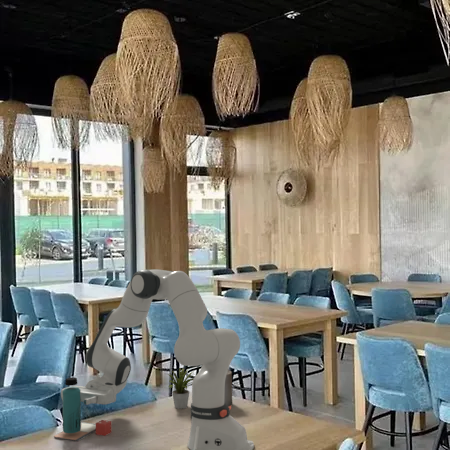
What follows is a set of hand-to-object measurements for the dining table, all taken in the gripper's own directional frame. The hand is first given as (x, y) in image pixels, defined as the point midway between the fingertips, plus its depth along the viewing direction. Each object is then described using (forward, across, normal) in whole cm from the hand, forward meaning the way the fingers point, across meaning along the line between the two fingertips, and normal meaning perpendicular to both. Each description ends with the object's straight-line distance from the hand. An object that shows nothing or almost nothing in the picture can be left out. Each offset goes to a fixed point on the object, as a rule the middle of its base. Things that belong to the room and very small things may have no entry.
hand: (74, 400), depth 212 cm
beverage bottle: (+2, 0, +12) cm, 12 cm away
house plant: (-42, +21, +12) cm, 48 cm away
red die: (-5, +9, +12) cm, 16 cm away
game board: (-3, 0, +12) cm, 12 cm away
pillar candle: (-52, +35, +12) cm, 64 cm away
